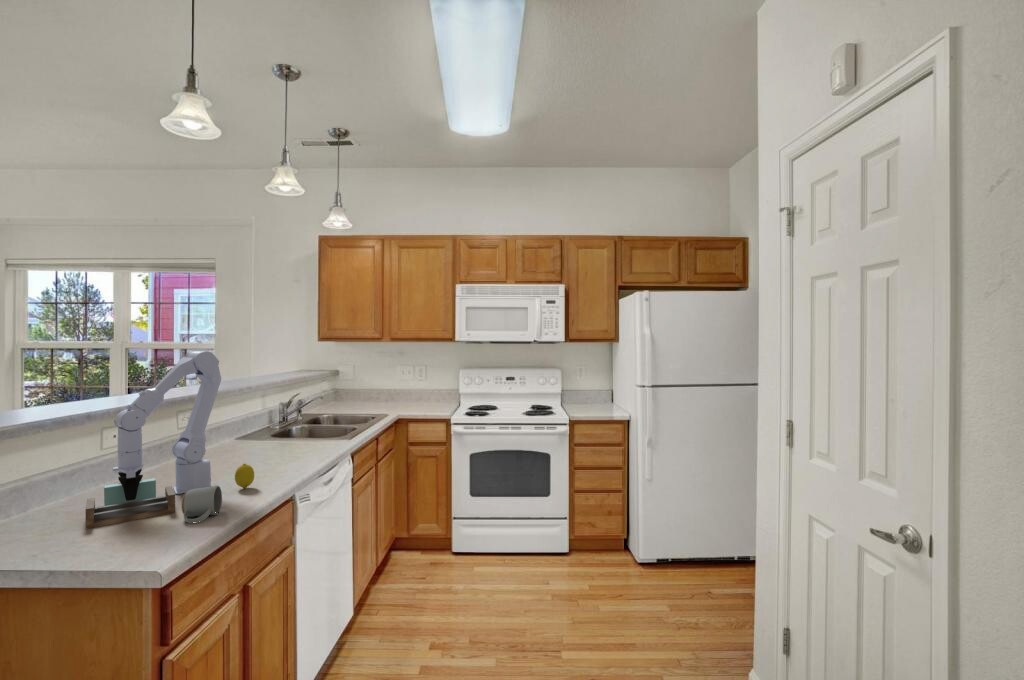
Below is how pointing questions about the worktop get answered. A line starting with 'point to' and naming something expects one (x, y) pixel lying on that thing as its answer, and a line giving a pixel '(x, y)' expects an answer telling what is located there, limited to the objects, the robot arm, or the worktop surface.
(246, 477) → the lemon
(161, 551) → the worktop surface
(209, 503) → the ceramic mug
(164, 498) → the track board
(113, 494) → the long teal rectangular block
